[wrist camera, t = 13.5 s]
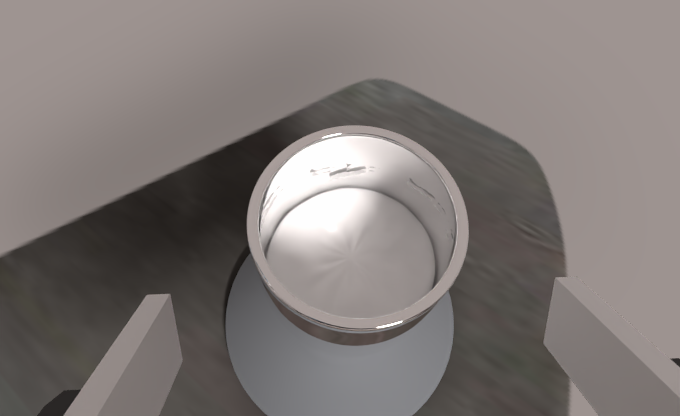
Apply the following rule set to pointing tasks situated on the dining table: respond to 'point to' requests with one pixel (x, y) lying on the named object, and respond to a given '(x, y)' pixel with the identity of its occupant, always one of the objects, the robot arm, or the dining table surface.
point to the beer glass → (355, 239)
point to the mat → (324, 379)
